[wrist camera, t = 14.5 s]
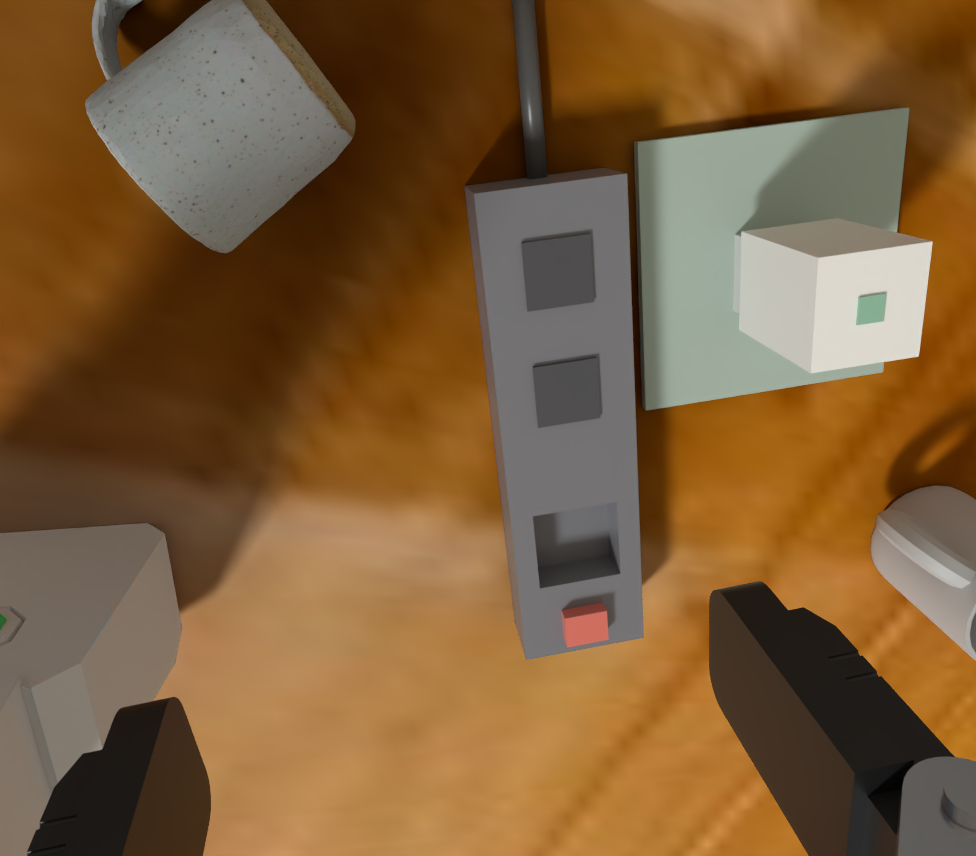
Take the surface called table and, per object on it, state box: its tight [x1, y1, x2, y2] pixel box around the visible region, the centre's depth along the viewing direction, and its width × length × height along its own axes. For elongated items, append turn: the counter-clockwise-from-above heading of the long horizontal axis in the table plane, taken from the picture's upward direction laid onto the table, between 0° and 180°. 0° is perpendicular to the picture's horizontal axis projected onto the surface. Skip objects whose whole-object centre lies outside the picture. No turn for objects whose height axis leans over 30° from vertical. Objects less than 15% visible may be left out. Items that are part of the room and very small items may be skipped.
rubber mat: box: [634, 108, 909, 411], centre depth 41 cm, size 14×14×1 cm
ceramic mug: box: [85, 0, 355, 253], centre depth 31 cm, size 11×8×8 cm
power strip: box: [464, 0, 644, 660], centre depth 40 cm, size 34×7×4 cm, turn 6°
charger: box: [733, 218, 933, 373], centre depth 37 cm, size 5×5×9 cm
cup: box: [871, 485, 976, 660], centre depth 46 cm, size 7×10×9 cm
